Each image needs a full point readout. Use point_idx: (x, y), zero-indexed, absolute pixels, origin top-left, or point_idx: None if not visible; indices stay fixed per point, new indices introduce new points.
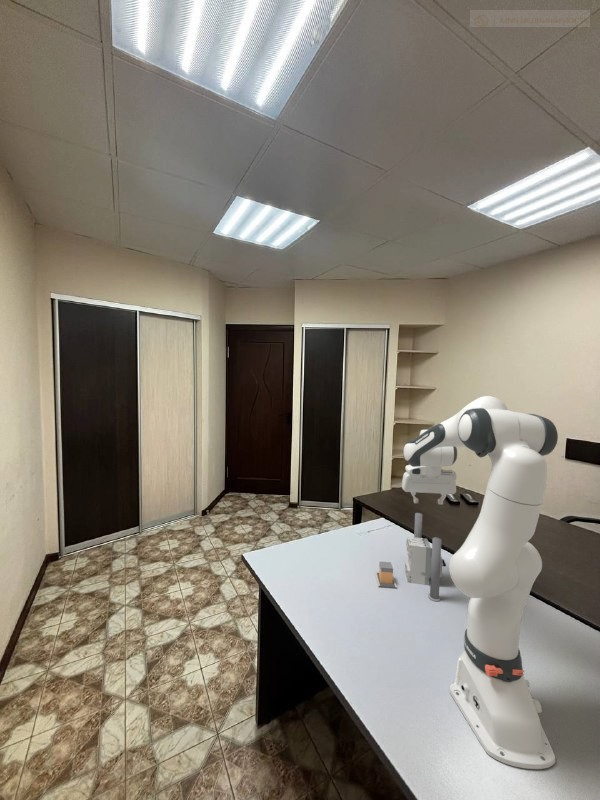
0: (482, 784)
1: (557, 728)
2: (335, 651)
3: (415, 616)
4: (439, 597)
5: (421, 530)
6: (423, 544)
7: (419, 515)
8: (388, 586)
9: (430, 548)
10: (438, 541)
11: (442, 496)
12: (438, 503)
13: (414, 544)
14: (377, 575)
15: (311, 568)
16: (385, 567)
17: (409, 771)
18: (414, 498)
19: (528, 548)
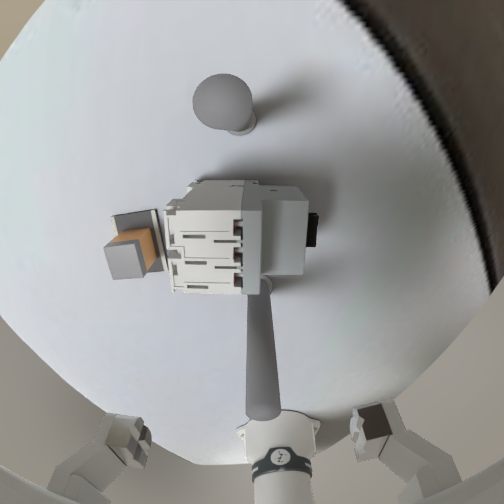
0: (243, 461)
1: (328, 433)
2: (109, 400)
3: (207, 345)
4: (270, 289)
5: (248, 121)
6: (232, 273)
7: (222, 129)
8: (147, 271)
9: (258, 292)
10: (265, 419)
11: (411, 468)
12: (354, 416)
13: (192, 279)
14: (117, 230)
15: (3, 235)
16: (122, 276)
17: (194, 460)
18: (110, 467)
19: None
